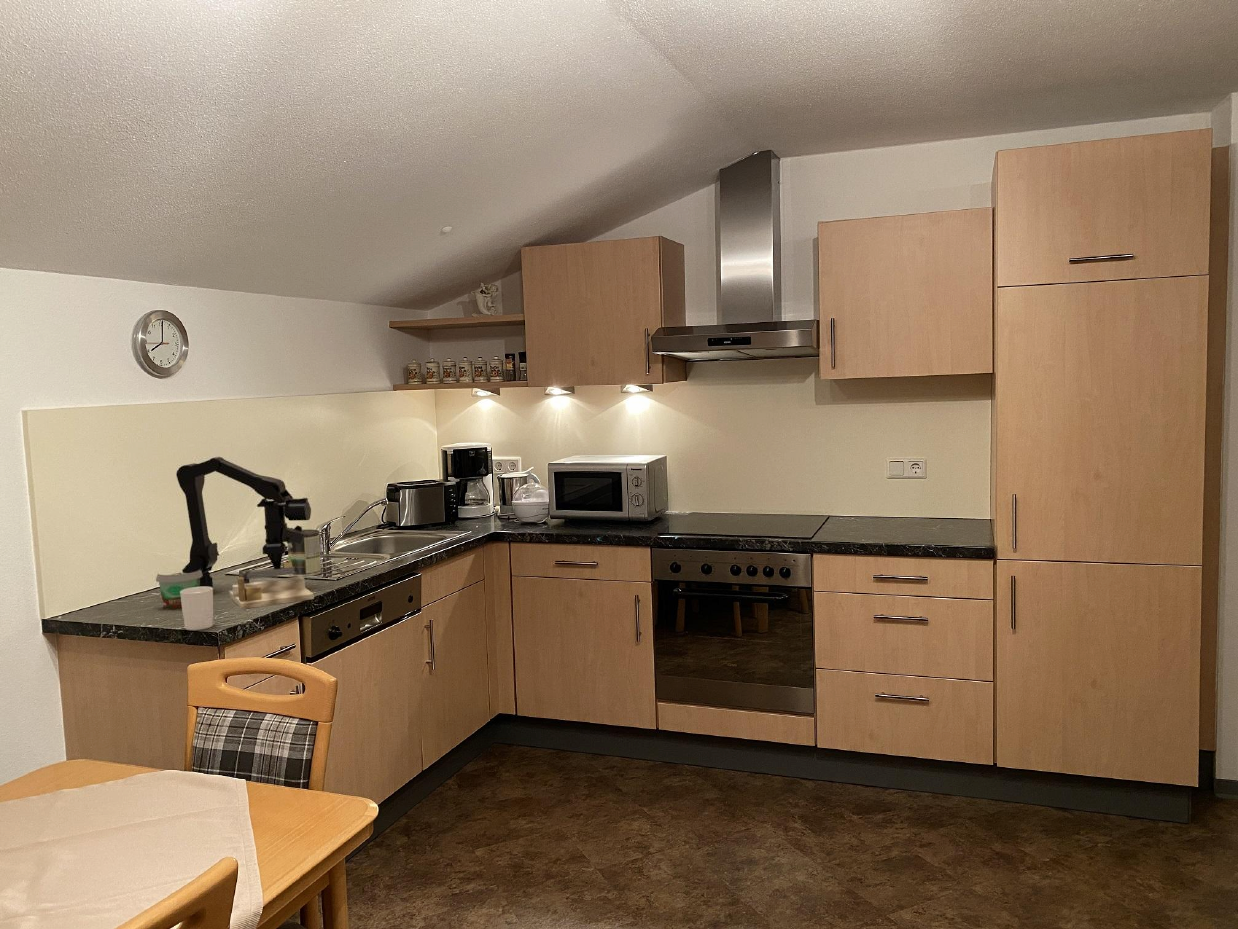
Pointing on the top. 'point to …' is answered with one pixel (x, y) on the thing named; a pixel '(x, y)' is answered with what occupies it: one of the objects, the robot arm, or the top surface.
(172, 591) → the food container
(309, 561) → the coffee can
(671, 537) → the top surface
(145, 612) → the top surface
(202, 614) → the white cup
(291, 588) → the wooden base tray
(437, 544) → the top surface
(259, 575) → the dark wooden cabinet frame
